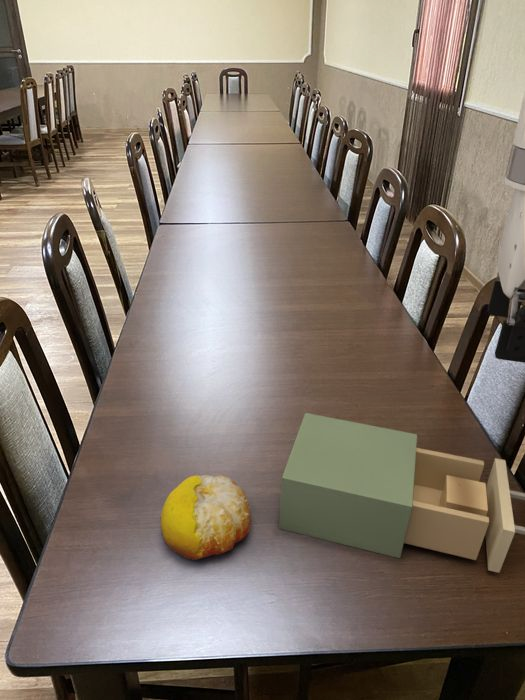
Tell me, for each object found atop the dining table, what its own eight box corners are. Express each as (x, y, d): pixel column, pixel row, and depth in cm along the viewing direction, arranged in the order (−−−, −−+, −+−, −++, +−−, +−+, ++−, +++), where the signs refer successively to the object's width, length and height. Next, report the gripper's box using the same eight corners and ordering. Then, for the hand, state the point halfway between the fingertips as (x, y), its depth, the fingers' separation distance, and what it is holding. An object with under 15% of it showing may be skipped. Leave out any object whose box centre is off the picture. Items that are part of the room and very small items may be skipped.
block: (477, 509, 66) (485, 482, 64) (478, 537, 63) (488, 510, 60) (439, 500, 68) (446, 474, 65) (439, 528, 64) (446, 501, 61)
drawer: (539, 509, 68) (555, 470, 65) (554, 586, 59) (574, 545, 55) (386, 476, 72) (393, 438, 69) (377, 543, 63) (385, 502, 60)
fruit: (232, 581, 59) (210, 528, 56) (156, 567, 64) (132, 517, 60) (270, 507, 68) (253, 458, 64) (201, 500, 73) (182, 453, 69)
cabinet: (406, 483, 73) (417, 434, 68) (400, 558, 62) (412, 506, 58) (301, 460, 76) (305, 412, 72) (278, 528, 66) (281, 477, 61)
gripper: (627, 197, 40) (560, 386, 49) (577, 153, 54) (532, 305, 63) (519, 190, 42) (473, 373, 50) (498, 149, 56) (465, 298, 65)
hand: (506, 336), depth 57 cm, fingers open, 9 cm apart
